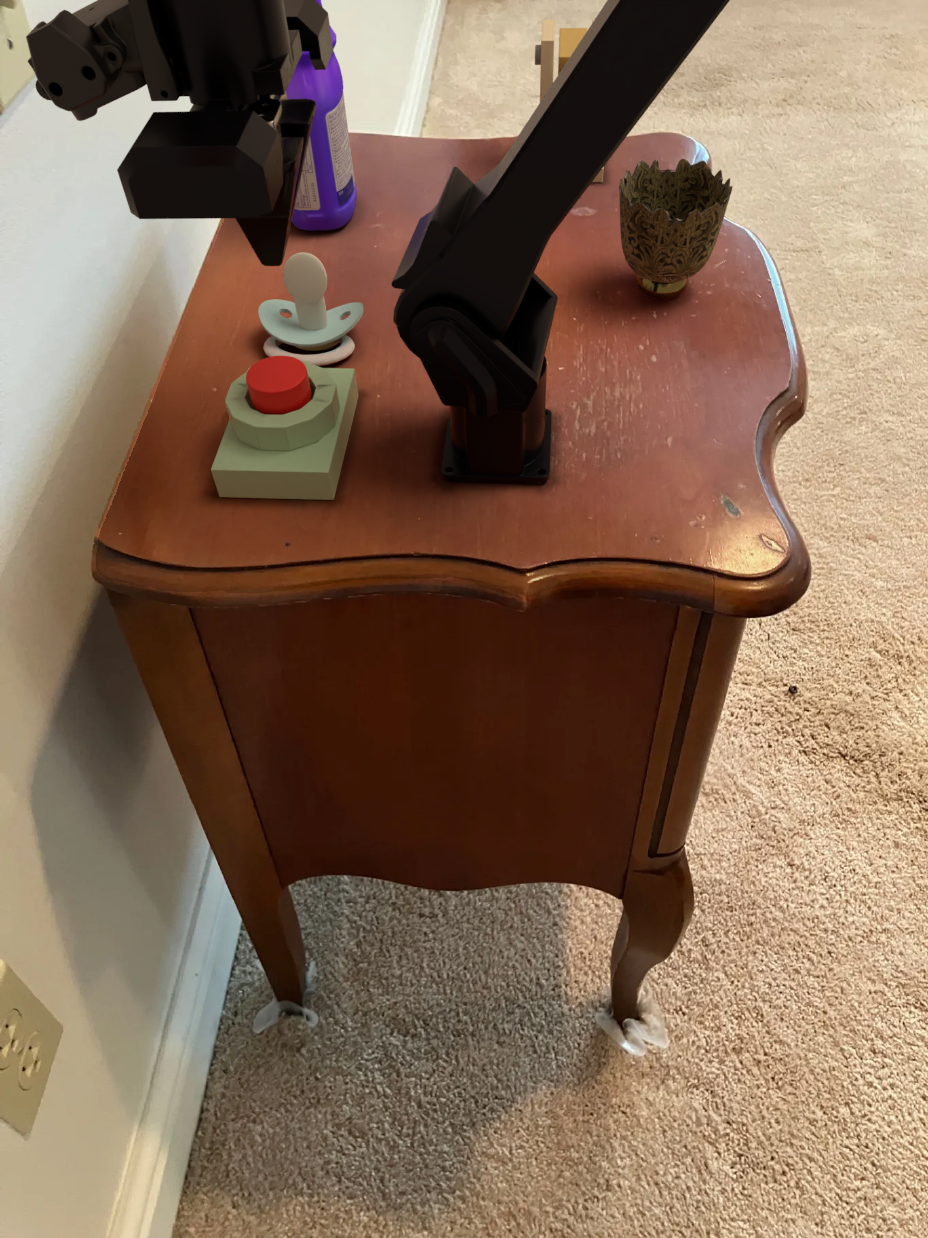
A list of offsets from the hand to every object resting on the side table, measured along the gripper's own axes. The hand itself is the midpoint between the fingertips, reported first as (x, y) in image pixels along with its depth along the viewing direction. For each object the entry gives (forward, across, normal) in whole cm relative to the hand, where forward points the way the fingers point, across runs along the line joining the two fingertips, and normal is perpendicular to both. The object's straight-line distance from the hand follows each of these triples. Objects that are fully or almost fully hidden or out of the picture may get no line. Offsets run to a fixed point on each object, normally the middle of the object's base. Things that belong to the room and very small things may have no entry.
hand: (273, 262), depth 51 cm
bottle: (+12, -28, -3) cm, 30 cm away
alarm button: (+8, +1, -1) cm, 8 cm away
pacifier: (+12, -9, -1) cm, 15 cm away
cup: (+12, -16, +24) cm, 31 cm away
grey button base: (+12, +1, -1) cm, 12 cm away
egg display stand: (+12, -37, +17) cm, 42 cm away
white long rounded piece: (+6, -34, +17) cm, 39 cm away
